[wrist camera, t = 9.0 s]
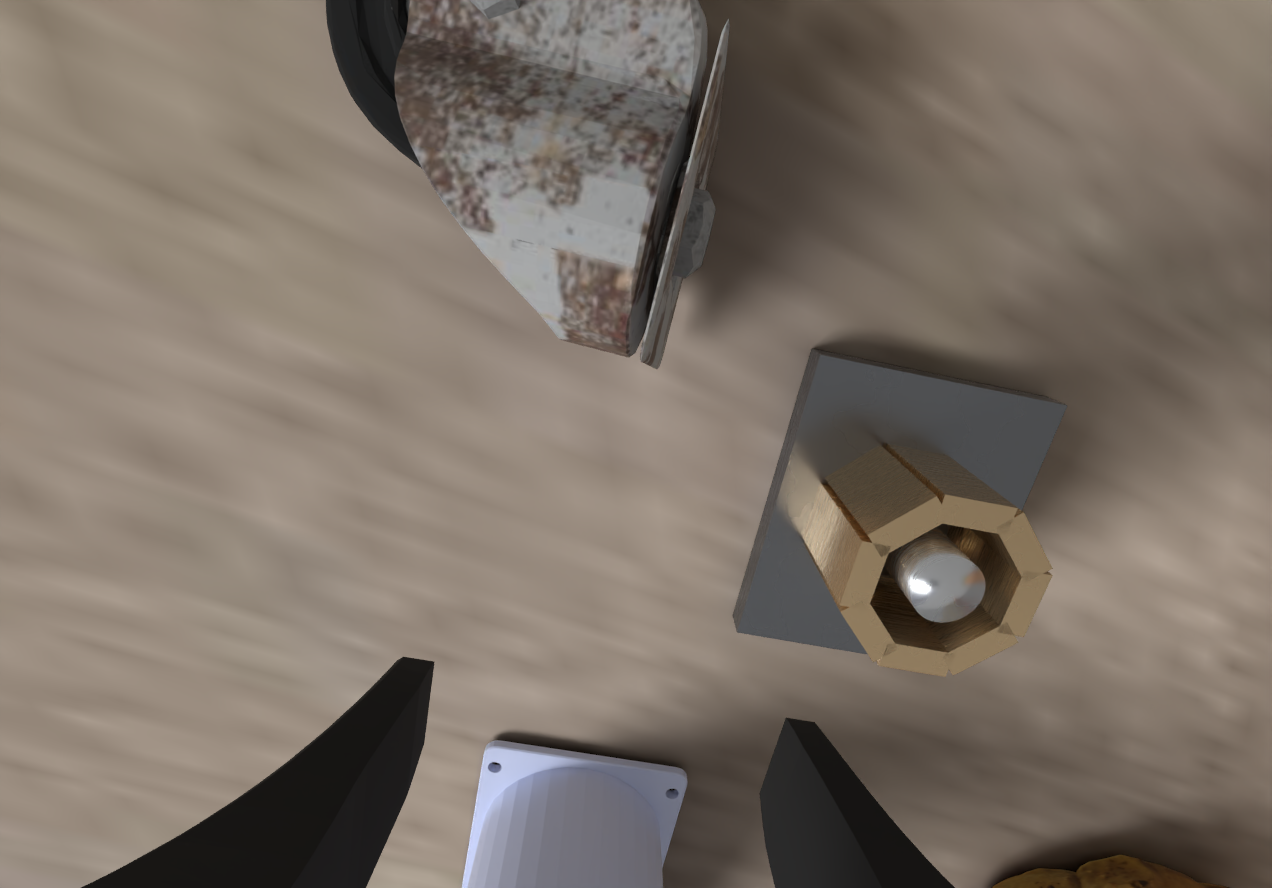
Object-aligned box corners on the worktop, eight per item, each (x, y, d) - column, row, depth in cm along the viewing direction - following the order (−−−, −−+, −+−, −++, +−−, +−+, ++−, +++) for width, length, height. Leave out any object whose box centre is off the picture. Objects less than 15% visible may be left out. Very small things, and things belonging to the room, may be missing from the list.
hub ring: (939, 607, 23) (1000, 685, 19) (788, 581, 22) (821, 656, 19) (997, 464, 21) (1078, 519, 17) (835, 433, 21) (882, 482, 17)
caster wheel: (441, -93, 19) (779, -18, 18) (361, 292, 20) (676, 374, 20) (306, -349, 12) (828, -245, 12) (200, 248, 14) (668, 369, 13)
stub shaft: (940, 651, 25) (1014, 755, 20) (732, 615, 24) (758, 714, 19) (1047, 397, 21) (1167, 449, 17) (811, 348, 21) (866, 387, 16)
